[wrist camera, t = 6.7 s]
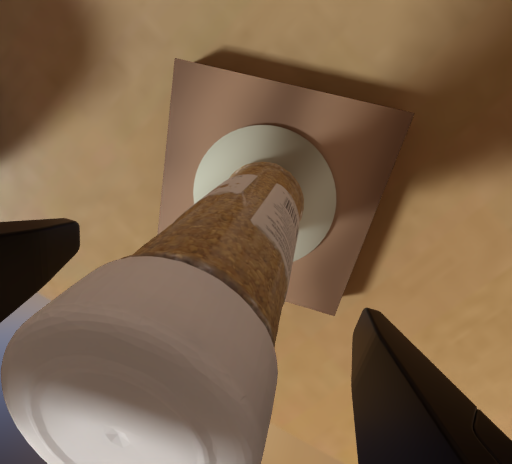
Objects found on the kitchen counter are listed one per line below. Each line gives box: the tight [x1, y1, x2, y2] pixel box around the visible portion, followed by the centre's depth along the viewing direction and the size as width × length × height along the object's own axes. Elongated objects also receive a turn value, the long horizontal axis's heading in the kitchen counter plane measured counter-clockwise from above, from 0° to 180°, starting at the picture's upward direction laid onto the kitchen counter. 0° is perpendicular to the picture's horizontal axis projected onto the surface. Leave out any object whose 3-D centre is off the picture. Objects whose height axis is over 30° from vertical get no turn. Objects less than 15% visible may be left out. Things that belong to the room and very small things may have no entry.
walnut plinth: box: [158, 58, 414, 316], centre depth 18 cm, size 12×12×2 cm
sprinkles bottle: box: [1, 162, 304, 464], centre depth 11 cm, size 5×5×13 cm
